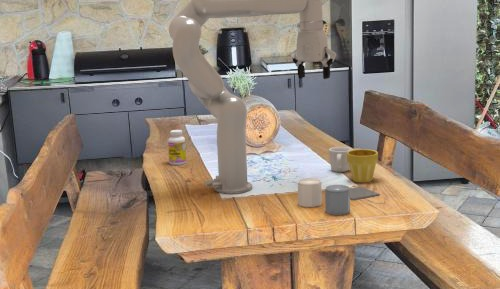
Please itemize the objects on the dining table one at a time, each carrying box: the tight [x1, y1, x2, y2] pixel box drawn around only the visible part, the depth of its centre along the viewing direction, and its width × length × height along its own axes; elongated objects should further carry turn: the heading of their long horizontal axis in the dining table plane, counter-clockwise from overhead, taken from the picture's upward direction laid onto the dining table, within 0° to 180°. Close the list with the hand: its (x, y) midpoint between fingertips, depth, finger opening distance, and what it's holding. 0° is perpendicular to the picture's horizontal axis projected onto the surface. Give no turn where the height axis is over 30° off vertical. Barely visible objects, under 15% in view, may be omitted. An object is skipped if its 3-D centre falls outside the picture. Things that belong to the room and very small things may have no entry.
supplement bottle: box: [167, 129, 187, 166], centre depth 279 cm, size 7×7×13 cm
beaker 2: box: [324, 184, 351, 216], centre depth 213 cm, size 7×7×7 cm
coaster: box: [349, 186, 380, 201], centre depth 231 cm, size 10×10×1 cm
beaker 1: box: [297, 177, 323, 208], centre depth 222 cm, size 7×7×7 cm
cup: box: [328, 146, 352, 173], centre depth 258 cm, size 11×8×8 cm
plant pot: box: [347, 148, 379, 184], centre depth 246 cm, size 10×10×10 cm
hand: (314, 78), depth 243 cm, fingers open, 9 cm apart
